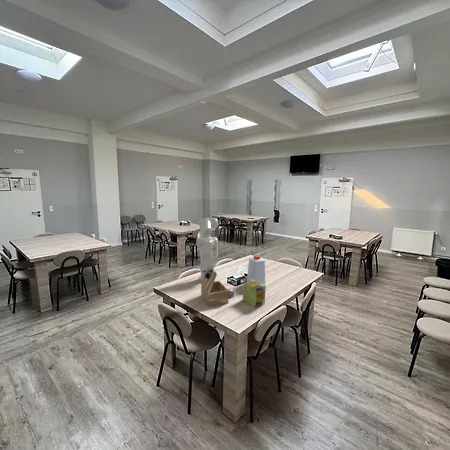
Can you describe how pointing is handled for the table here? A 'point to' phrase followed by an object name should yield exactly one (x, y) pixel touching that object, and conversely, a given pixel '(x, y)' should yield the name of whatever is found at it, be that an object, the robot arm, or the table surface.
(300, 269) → the table surface
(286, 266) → the table surface
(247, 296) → the protein box
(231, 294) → the grey rounded piece
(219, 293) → the wooden box
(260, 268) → the plastic bottle
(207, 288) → the box lid
